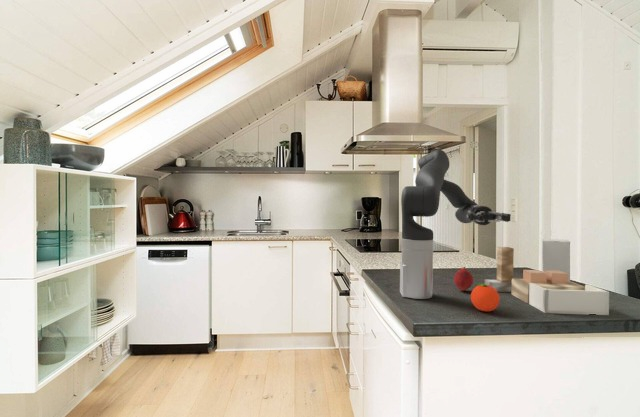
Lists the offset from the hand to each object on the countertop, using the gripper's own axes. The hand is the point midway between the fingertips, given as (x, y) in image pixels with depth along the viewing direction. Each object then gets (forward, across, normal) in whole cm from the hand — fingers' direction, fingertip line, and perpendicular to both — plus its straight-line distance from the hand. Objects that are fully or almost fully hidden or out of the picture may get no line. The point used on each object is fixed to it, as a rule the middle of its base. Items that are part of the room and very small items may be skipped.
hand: (495, 218), depth 124 cm
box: (+30, +8, +22) cm, 38 cm away
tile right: (+19, +11, +17) cm, 28 cm away
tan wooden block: (+21, +8, +22) cm, 31 cm away
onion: (+15, -14, +22) cm, 30 cm away
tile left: (+19, +5, +17) cm, 26 cm away
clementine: (+35, -15, +22) cm, 43 cm away
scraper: (+11, 0, +22) cm, 25 cm away
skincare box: (-2, +22, +23) cm, 32 cm away
